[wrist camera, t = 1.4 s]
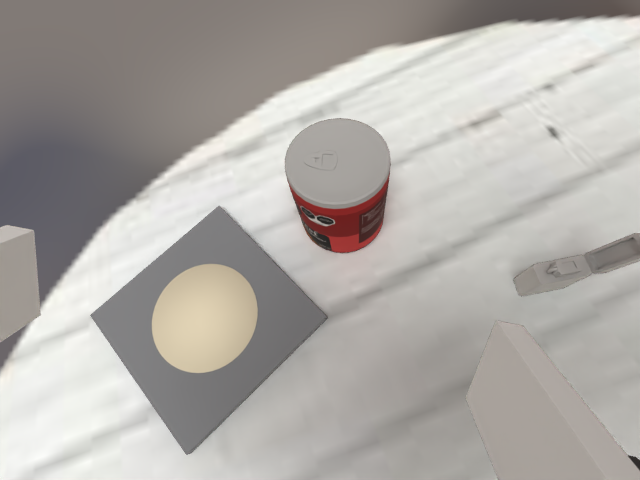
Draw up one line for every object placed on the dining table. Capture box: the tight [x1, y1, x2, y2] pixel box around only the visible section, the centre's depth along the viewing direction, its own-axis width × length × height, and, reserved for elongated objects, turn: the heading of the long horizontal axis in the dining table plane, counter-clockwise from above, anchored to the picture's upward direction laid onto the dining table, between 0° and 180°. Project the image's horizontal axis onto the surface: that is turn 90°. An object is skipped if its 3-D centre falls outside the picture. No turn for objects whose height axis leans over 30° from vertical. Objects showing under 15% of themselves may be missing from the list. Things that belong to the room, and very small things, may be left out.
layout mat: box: [90, 206, 327, 455], centre depth 35 cm, size 16×16×1 cm
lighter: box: [513, 233, 640, 297], centre depth 30 cm, size 7×2×8 cm, turn 101°
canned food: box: [285, 118, 391, 253], centre depth 33 cm, size 8×8×11 cm
